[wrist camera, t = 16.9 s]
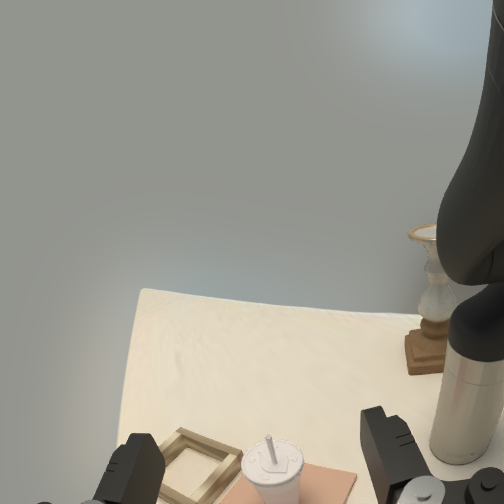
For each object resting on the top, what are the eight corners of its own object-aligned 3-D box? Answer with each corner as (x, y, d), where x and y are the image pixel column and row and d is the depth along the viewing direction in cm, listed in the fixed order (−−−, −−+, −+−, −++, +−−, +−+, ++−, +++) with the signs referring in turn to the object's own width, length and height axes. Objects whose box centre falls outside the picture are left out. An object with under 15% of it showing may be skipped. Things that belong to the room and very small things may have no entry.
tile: (262, 454, 40) (261, 451, 39) (356, 476, 32) (356, 473, 32) (205, 524, 28) (203, 521, 28) (310, 565, 21) (310, 563, 21)
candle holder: (465, 369, 45) (477, 236, 39) (408, 375, 49) (410, 242, 43) (454, 337, 55) (458, 220, 49) (404, 342, 58) (401, 225, 53)
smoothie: (277, 532, 26) (255, 470, 22) (246, 501, 31) (218, 432, 27) (321, 502, 29) (314, 432, 25) (287, 475, 34) (271, 402, 31)
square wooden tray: (186, 439, 45) (180, 426, 44) (246, 462, 38) (241, 450, 38) (138, 483, 35) (130, 471, 35) (198, 518, 29) (190, 508, 29)
